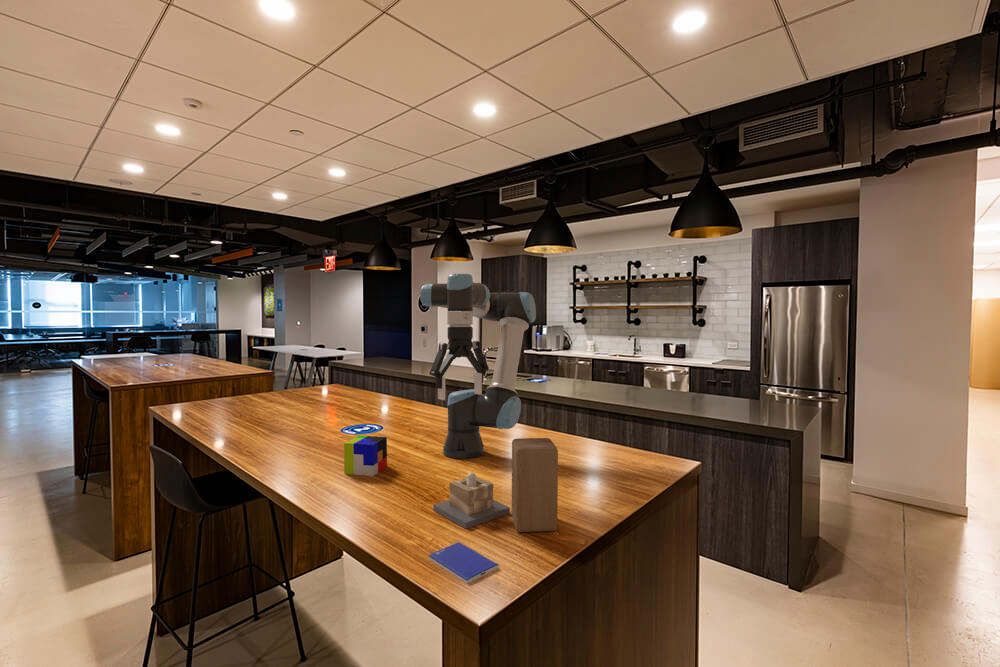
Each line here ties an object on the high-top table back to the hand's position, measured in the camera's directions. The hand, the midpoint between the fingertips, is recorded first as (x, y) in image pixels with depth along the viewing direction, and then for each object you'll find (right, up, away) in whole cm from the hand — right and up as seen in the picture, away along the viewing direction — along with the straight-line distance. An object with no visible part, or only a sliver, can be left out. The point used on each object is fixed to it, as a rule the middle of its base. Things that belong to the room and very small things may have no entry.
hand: (460, 396), depth 141 cm
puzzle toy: (-32, -26, +13) cm, 43 cm away
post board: (+4, -27, -20) cm, 34 cm away
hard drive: (+4, -29, -45) cm, 54 cm away
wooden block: (+20, -28, -27) cm, 43 cm away
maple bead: (+4, -26, -20) cm, 33 cm away
